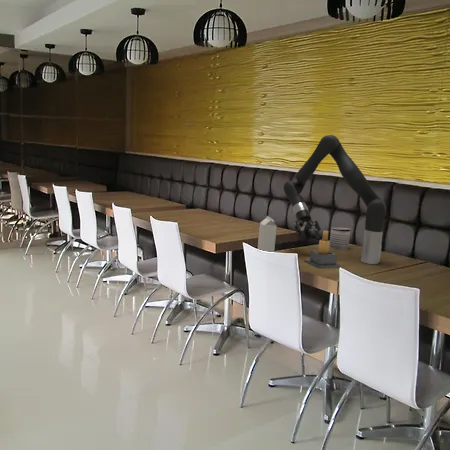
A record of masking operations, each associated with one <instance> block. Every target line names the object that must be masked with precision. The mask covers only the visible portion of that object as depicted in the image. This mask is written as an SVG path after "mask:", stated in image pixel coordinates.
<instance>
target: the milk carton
mask: <svg viewBox="0 0 450 450" xmlns="http://www.w3.org/2000/svg"><path fill="white" fill-rule="evenodd" d="M276 236H277V224H276V223H275V219H273V218H272V217H270V216H269V215H266V217H265V218H264V219H263V220H261V221H260V222H259V230H258V238H257V239H258V241H257V250H258V249H261V250H264V251H270V252H274V253H275V245H276V238H277V237H276Z"/></svg>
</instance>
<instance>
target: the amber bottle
mask: <svg viewBox="0 0 450 450" xmlns="http://www.w3.org/2000/svg"><path fill="white" fill-rule="evenodd" d="M322 231H323V232H322V239H319V242H318V251H317V253H320V254H329V251H330V247H329V246H330V239H329V232H330V231H329V230H326V229H325V230H322Z"/></svg>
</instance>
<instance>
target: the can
mask: <svg viewBox="0 0 450 450" xmlns="http://www.w3.org/2000/svg"><path fill="white" fill-rule="evenodd" d="M350 236H351V228H349V227H330V234H329V241H330V246H329V249H330V248H331V249H334V250H339V251H340V250H341V251H348V249H349V245H350Z"/></svg>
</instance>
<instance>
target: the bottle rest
mask: <svg viewBox="0 0 450 450" xmlns="http://www.w3.org/2000/svg"><path fill="white" fill-rule="evenodd" d="M309 255H310V256H309V258H305V259H304V262H305V263H306V264H309V265H311V266H313V267H315V268H318V269H334V267H336V268H341V266H342V265H341V264H339V263H337V259H338V253H334V252H333V251H330V250H329V254H320V253H318V251H314V250H310V254H309Z"/></svg>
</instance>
